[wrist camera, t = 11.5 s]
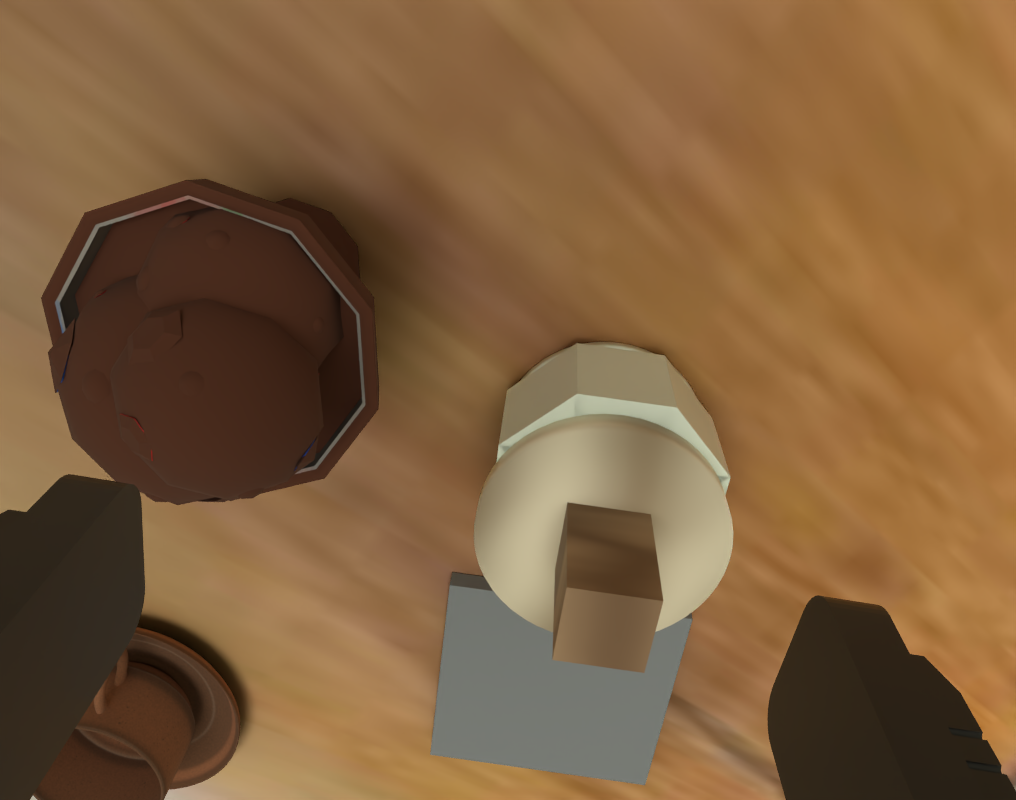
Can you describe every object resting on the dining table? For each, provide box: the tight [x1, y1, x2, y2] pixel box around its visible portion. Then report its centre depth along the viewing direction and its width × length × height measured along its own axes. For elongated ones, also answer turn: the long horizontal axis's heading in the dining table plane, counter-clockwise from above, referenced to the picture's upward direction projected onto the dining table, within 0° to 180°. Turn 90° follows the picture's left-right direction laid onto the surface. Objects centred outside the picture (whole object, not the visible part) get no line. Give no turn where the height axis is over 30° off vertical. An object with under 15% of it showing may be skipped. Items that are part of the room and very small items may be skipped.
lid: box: [474, 414, 733, 673], centre depth 31 cm, size 10×10×6 cm
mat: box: [430, 572, 692, 785], centre depth 45 cm, size 12×12×1 cm
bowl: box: [497, 342, 730, 495], centre depth 36 cm, size 9×9×6 cm
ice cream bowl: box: [41, 179, 379, 505], centre depth 29 cm, size 11×11×15 cm
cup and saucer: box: [33, 627, 240, 800], centre depth 45 cm, size 12×12×6 cm
